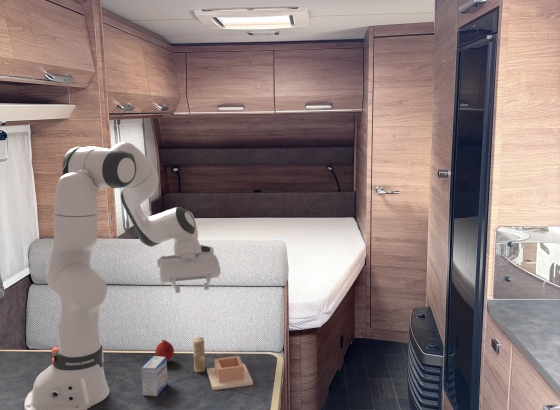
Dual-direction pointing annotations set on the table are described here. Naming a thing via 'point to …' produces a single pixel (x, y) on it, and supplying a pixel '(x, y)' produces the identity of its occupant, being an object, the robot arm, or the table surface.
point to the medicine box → (154, 376)
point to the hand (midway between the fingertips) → (192, 290)
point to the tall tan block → (199, 354)
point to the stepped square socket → (229, 373)
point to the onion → (165, 350)
